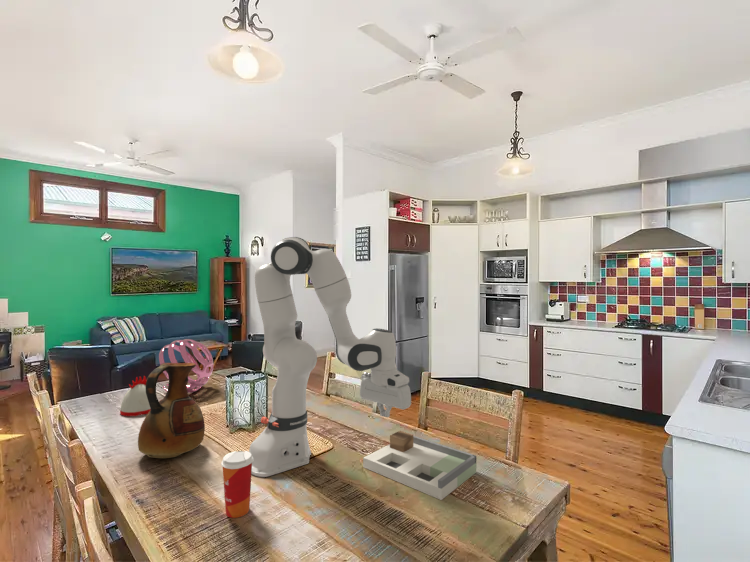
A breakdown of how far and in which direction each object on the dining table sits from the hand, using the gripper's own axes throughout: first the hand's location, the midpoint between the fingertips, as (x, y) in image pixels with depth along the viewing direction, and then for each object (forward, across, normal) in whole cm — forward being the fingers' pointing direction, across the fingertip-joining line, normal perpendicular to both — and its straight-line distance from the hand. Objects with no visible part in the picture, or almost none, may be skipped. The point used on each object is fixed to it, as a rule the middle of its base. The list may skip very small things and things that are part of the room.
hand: (384, 416), depth 138 cm
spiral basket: (+10, -120, -14) cm, 121 cm away
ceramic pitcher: (+10, -53, -49) cm, 73 cm away
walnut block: (+8, +8, -1) cm, 11 cm away
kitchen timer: (+10, -107, -41) cm, 115 cm away
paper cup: (+10, -5, -53) cm, 54 cm away
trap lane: (+11, +17, -5) cm, 21 cm away
